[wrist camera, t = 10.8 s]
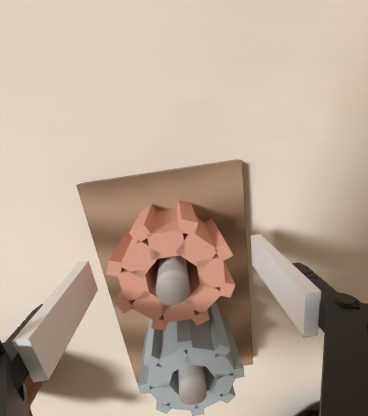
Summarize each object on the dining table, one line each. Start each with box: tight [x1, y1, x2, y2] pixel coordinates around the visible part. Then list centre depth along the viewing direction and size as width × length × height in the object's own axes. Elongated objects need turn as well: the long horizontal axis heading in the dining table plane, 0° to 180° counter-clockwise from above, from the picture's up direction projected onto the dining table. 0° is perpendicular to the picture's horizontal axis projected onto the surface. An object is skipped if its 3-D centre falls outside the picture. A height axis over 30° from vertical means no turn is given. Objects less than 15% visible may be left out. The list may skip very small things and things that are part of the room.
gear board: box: [76, 160, 253, 405], centre depth 17 cm, size 24×14×7 cm, turn 8°
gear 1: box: [106, 200, 235, 331], centre depth 16 cm, size 9×9×5 cm
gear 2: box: [138, 302, 244, 416], centre depth 19 cm, size 9×9×5 cm
